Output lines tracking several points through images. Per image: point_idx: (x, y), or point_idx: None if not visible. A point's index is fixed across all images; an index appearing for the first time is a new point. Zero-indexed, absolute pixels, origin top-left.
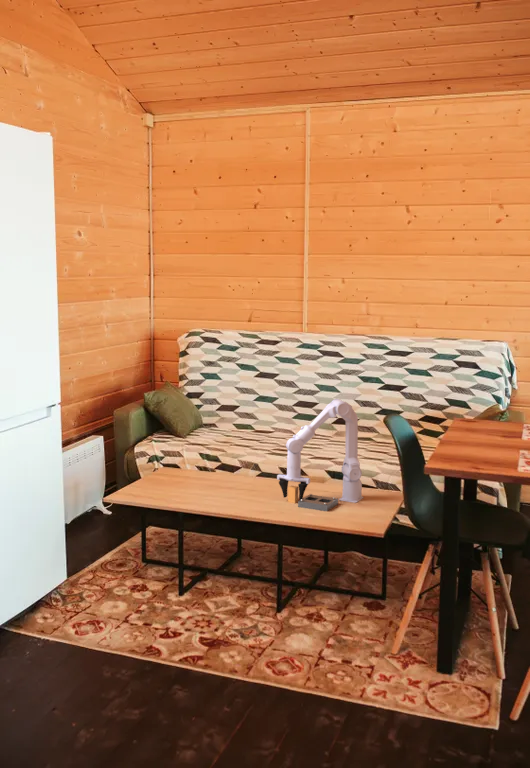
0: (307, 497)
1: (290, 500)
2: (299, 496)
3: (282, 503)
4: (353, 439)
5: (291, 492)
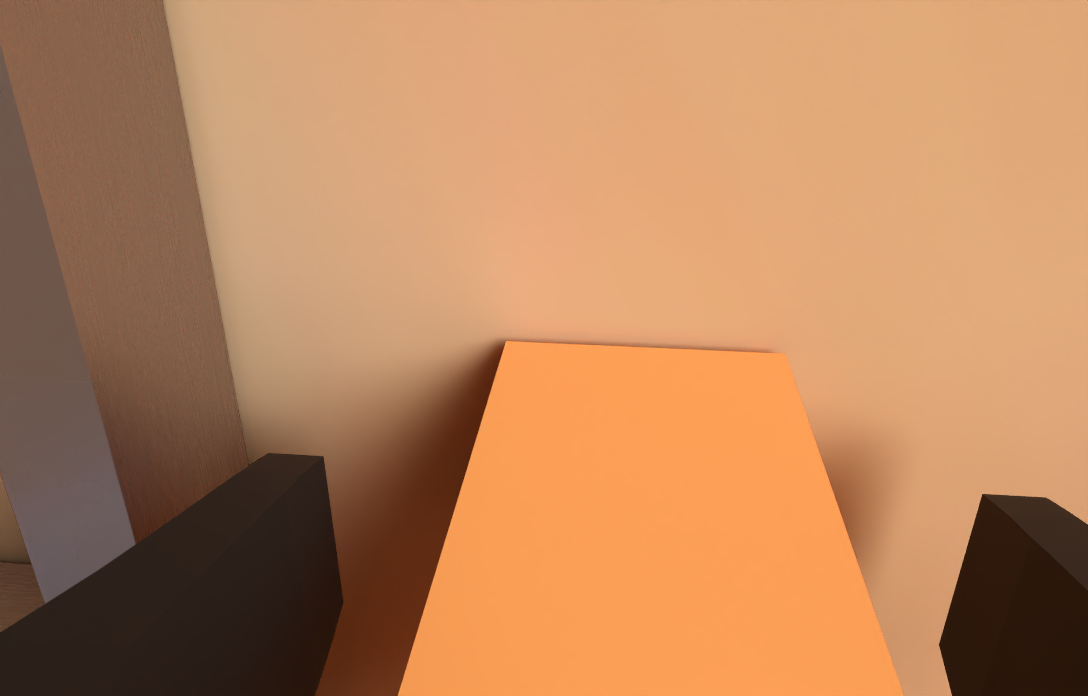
0: None
1: (689, 387)
2: (238, 516)
3: (964, 161)
4: None
5: (661, 636)
